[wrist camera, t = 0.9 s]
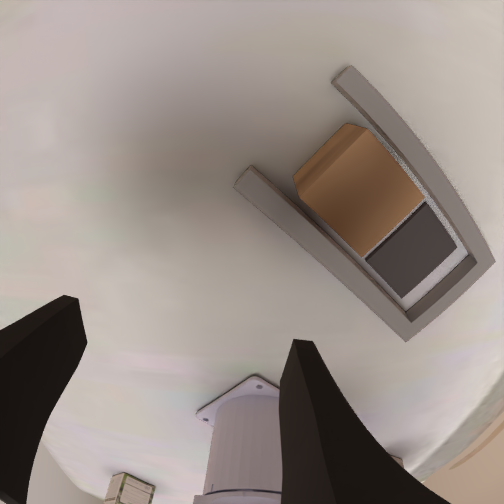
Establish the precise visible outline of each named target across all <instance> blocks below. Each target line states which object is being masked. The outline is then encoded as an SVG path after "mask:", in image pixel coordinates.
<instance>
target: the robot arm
mask: <svg viewBox="0 0 504 504" xmlns="http://www.w3.org/2000/svg"><path fill="white" fill-rule="evenodd" d="M86 345H87V339H86V334H85V330H84V325H83V320H82V316H81V310H80V305H79V300H78V298H74V297H70V296H67V295H63V296H61V297H59V298H57V299H55V300H53V301H51V302H49V303H48V304H46V305H44V306H42V307H41V308H39V309H37V310H35V311H34V312H32V313H30V314H28V315H27V316H25V317H23V318H21V319H20V320H18V321H16V322H15V323H13V324H11V325H9V326H7V327H5V328H3V329H1V330H0V500H1V501H3V502H5V503H6V504H26V501H27V493H28V486H29V480H30V476H31V470H32V467H33V462H34V459H35V455H36V452H37V449H38V445H39V442H40V439H41V436H42V434H43V431H44V428H45V426H46V423H47V421H48V419H49V416H50V414H51V412H52V410H53V409H54V407H55V405H56V403H57V401H58V400H59V398H60V396H61V394H62V393H63V391H64V389H65V387H66V386H67V384H68V382H69V381H70V379H71V377H72V375H73V374H74V372H75V370H76V368H77V367H78V364H79V362H80V360H81V357H82V355H83V353H84V350H85V348H86ZM196 418H197V419H199V420H201V421H203V422H205V423H207V424H209V425H211V426H213V427H214V429H213V435H212V441H211V447H210V453H209V459H208V466H207V472H206V478H205V484H204V491H203V495H195V496H194V502H193V504H450V503H449V502H447V501H446V500H444V499H443V498H441V497H440V496H438V495H437V494H435V493H434V492H432V491H431V490H429V489H428V488H427V487H425V486H424V485H423V484H422V483H420V482H419V481H418V480H417V479H415V478H414V477H413V476H412V475H410V474H409V473H408V472H407V471H406V470H405V469H404V468H403V467H402V466H401V465H400V464H399V463H398V462H397V461H395V460H394V459H393V458H392V457H391V456H390V455H389V454H388V453H387V452H386V451H385V450H384V448H383V447H382V446H381V445H380V444H379V443H378V442H377V441H376V439H375V438H374V437H373V436H372V435H371V433H370V432H369V431H368V430H367V429H366V427H365V426H364V425H363V423H362V422H361V421H360V419H359V418H358V417H357V415H356V414H355V412H354V411H353V409H352V408H351V406H350V405H349V403H348V402H347V400H346V399H345V397H344V396H343V394H342V392H341V391H340V389H339V387H338V386H337V384H336V383H335V381H334V379H333V377H332V376H331V374H330V372H329V370H328V368H327V367H326V365H325V363H324V361H323V359H322V357H321V355H320V353H319V352H318V350H317V348H316V346H315V344H314V343H313V341H307V340H298V339H293V342H292V346H291V349H290V352H289V355H288V358H287V361H286V365H285V368H284V371H283V374H282V377H281V380H280V390H279V389H278V388H276V387H274V386H273V385H271V384H269V383H267V382H266V381H264V380H262V379H261V378H259V377H256V376H253V377H250V378H249V379H247V380H246V381H244V382H243V383H241V384H240V385H238V386H237V387H235V388H234V389H232V390H231V391H229V392H228V393H226V394H225V395H223V396H222V397H220V398H218V399H217V400H215V401H214V402H212V403H211V404H209V405H207V406H206V407H204V408H203V409H201V410H199V411H198V412H197V413H196Z"/></svg>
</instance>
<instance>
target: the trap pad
mask: <svg viewBox="0 0 504 504" xmlns="http://www.w3.org/2000/svg"><path fill="white" fill-rule="evenodd" d="M456 248H457V246H456V244H455V243H454V241H453V240H452V238H451V237H450V235H449V234H448V232H447V231H446V229H445V228H444V226H443V225H442V224H441V222H440V221H439V219H438V218H437V216H436V215H435V214H434V212H433V211H432V209H431V208H430V207H429V205H428V204H427V203H426V202H424V203H423V204H422V205H421V206H420V207H419V208H418V209H417V210H416V211H415V212H414V213H413V214H412V215H411V216H410V217H409V218H408V219H407V220H406V221H405V222H404V223H403V224H402V225H401V226H400V227H399V228H398V229H397V230H396V231H395V232H394V233H393V234H392V235H390V236H389V237H388V238H387V239H386V240H385V241H384V242H383V243H382V244H381V245H380V246H379V247H378V248H377V249H375V250H374V251H373V252H372V253H371V254H370V255H369V256H368V257H367V258H366V259H365V260H366V262H367V263H368V264H369V265H370V266H371V267H372V268H373V269H374V270H375V271H376V272H377V273H378V274H379V275H380V276H381V277H382V278H383V279H384V280H385V281H386V282H387V284H388V285H389V286H390V287H391V288H392V289H393V290H394V291H395V292H396V293H397V294H398V295H399V296H400V297H401V298H403V297H404V296H405V295H406V294H408V293H409V292H410V291H411V290H412V289H413V288H414V287H416V286H417V285H418V284H419V283H420V282H421V281H422V280H423V279H424V278H426V277H427V276H428V275H429V274H430V273H431V272H432V271H433V270H434V269H435V268H436V267H437V266H439V265H440V264H441V263H442V262H443V261H444V260H445V259H446V258H447V257H448V256H449V255H450V254H451V253H452V252H453V251H454V250H455V249H456Z"/></svg>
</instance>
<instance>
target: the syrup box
mask: <svg viewBox="0 0 504 504" xmlns="http://www.w3.org/2000/svg"><path fill="white" fill-rule="evenodd" d="M154 491H155V487H154V486H152V485H150V484H147V483H145V482H143V481H141V480H139V479H137V478H134V477H132V476H130V475H128V474H126V473H121V474H118V475H115V476H112V478H111V480H110V484H109V487H108V491H107V494H106V497H105V500H104V504H152V499H153V495H154Z"/></svg>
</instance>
